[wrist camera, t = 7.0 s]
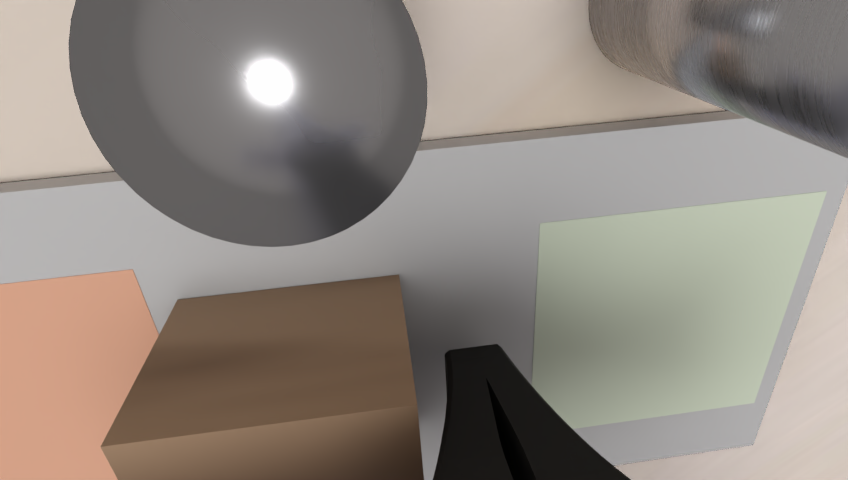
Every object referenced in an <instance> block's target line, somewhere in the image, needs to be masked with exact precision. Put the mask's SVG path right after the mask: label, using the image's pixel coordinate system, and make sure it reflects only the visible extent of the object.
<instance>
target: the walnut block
mask: <svg viewBox="0 0 848 480" xmlns="http://www.w3.org/2000/svg"><path fill="white" fill-rule="evenodd" d="M101 449H102V451H103V453H104V455H105V457H106V458H107V460H108V462H109V464H110V466H111V468H112V470H113V471H114V473H115V475H116V477H117V479H118V480H424V474H423V463H422V452H421V441H420V429H419V418H418V407H417V399H416V392H415V385H414V378H413V371H412V364H411V357H410V349H409V342H408V335H407V328H406V321H405V314H404V307H403V300H402V292H401V285H400V278H399V275H391V276H382V277H373V278H364V279H355V280H347V281H338V282H329V283H320V284H311V285H303V286H294V287H285V288H276V289H267V290H258V291H250V292H241V293H232V294H223V295H214V296H205V297H197V298H188V299H179V300H177V302H176V303H175V305H174V307H173V309H172V311H171V313H170V315H169V317H168V319H167V321H166V323H165V324H164V326H163V328H162V330H161V332H160V334H159V336H158V338H157V340H156V342H155V344H154V345H153V347H152V349H151V351H150V353H149V355H148V357H147V359H146V361H145V363H144V365H143V366H142V368H141V370H140V372H139V374H138V376H137V378H136V380H135V382H134V384H133V386H132V387H131V389H130V391H129V393H128V395H127V397H126V399H125V401H124V403H123V405H122V407H121V408H120V410H119V412H118V414H117V416H116V418H115V420H114V422H113V424H112V426H111V427H110V429H109V431H108V433H107V435H106V437H105V439H104V441H103V443H102V445H101Z"/></svg>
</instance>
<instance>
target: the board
mask: <svg viewBox="0 0 848 480" xmlns="http://www.w3.org/2000/svg"><path fill="white" fill-rule="evenodd" d="M847 184H848V158H846V157H843V156H841V155H838V154H836V153H833V152H831V151H828V150H826V149H823V148H821V147H818V146H816V145H813V144H811V143H808V142H806V141H803V140H801V139H798V138H795V137H793V136H790V135H788V134H785V133H783V132H780V131H778V130H775V129H773V128H770V127H768V126H765V125H763V124H760V123H758V122H755V121H753V120H750V119H748V118H745V117H743V116H740V115H738V114H735V113H733V112H730V111H722V112H712V113H702V114H692V115H682V116H672V117H662V118H652V119H642V120H632V121H622V122H611V123H601V124H591V125H581V126H571V127H561V128H551V129H541V130H531V131H521V132H511V133H501V134H491V135H481V136H471V137H460V138H450V139H440V140H430V141H420V143H419V146H418V149H417V151H416V154H415V156H414V158H413V161H412V163H411V165H410V167H409V169H408V170H407V172H406V174H405V175H404V177H403V179H402V181H401V182H400V183H399V184H398V186H397V187H396V188H395V190H394V191H393V192H392V194H391V195H390V196H389V197H388V198H387V199H386V200H385V201H384V202H383V203H382V204H381V205H380V206H379V207H378V208H377V209H376V210H374V211H373V212H372V213H371V214H369V215H368V216H367V217H365V218H364V219H363V220H361V221H360V222H358V223H356V224H355V225H353V226H351V227H350V228H348V229H346V230H344V231H342V232H339V233H337V234H335V235H332V236H330V237H327V238H324V239H321V240H317V241H314V242H311V243H305V244H299V245H294V246H281V247H261V246H248V245H242V244H236V243H231V242H227V241H223V240H220V239H216V238H212V237H209V236H207V235H204V234H202V233H199V232H197V231H194V230H191V229H190V228H188V227H186V226H184V225H182V224H180V223H178V222H176V221H174V220H172V219H171V218H169V217H167V216H166V215H164V214H163V213H161V212H160V211H158V210H157V209H155V208H154V207H152V206H151V205H150V204H149V203H148V202H146V201H145V200H144V199H143V198H141V197H140V196H139V195H138V194H137V193H135V192H134V191H133V190H132V189H131V188H130V187H129V186H128V185H127V183H126V182H125V181H124V180H123V179H122V178H121V177H120V176H119V175H118V174H117V173H116V172H108V173H98V174H88V175H78V176H68V177H58V178H48V179H38V180H28V181H18V182H8V183H0V480H118V479H117V477H116V475H115V473H114V471H113V470H112V468H111V466H110V464H109V462H108V460H107V458H106V457H105V455H104V453H103V451H102V449H101V445H102V443H103V441H104V439H105V437H106V435H107V433H108V431H109V429H110V427H111V426H112V424H113V422H114V420H115V418H116V416H117V414H118V412H119V410H120V408H121V407H122V405H123V403H124V401H125V399H126V397H127V395H128V393H129V391H130V389H131V387H132V386H133V384H134V382H135V380H136V378H137V376H138V374H139V372H140V370H141V368H142V366H143V365H144V363H145V361H146V359H147V357H148V355H149V353H150V351H151V349H152V347H153V345H154V344H155V342H156V340H157V338H158V336H159V334H160V332H161V330H162V328H163V326H164V324H165V323H166V321H167V319H168V317H169V315H170V313H171V311H172V309H173V307H174V305H175V303H176V302H177V300H179V299H188V298H197V297H205V296H214V295H223V294H232V293H241V292H250V291H258V290H267V289H276V288H285V287H294V286H303V285H311V284H320V283H329V282H338V281H347V280H355V279H364V278H373V277H382V276H391V275H399V278H400V285H401V292H402V300H403V307H404V314H405V321H406V328H407V335H408V342H409V349H410V357H411V364H412V371H413V378H414V385H415V392H416V399H417V407H418V418H419V429H420V441H421V452H422V463H423V474H424V480H433V477H434V473H435V469H436V464H437V460H438V455H439V450H440V445H441V439H442V434H443V428H444V422H445V413H446V403H447V392H446V373H445V353H446V352H447V351H449V350H453V349H461V348H469V347H477V346H484V345H492V344H498V345H499V346H501V347H502V349H503V350H504V351H505V353H506V354H507V355H508V357H509V358H510V359H511V361H512V362H513V363H514V365H515V366H516V367H517V368H518V370H519V371H520V372H521V373H522V375H523V376H524V377H525V378H526V379H527V381H528V382H529V383H530V384H531V385H532V386H533V388H534V389H535V390H536V391H537V392H538V393H539V394H540V395H541V397H542V398H543V399H544V400H545V401H546V402H547V403H548V404H549V405H550V406H551V407H552V409H553V410H554V411H555V412H556V413H557V414H558V415H559V416H560V417H561V418H562V419H563V420H564V421H565V422H566V423H567V424H568V425H569V426H570V427H571V428H572V429H573V430H574V431H575V432H576V433H577V434H578V435H579V436H580V437H581V438H582V439H583V440H585V441H586V442H587V443H588V444H589V445H590V446H591V447H592V448H593V449H594V450H596V451H597V452H598V453H599V454H600V455H601V456H602V457H604V458H605V459H606V460H607V461H608V462H609V463H611V464H612V465H613V466H616V465H622V464H629V463H636V462H642V461H649V460H656V459H662V458H669V457H676V456H683V455H689V454H696V453H703V452H709V451H716V450H723V449H729V448H736V447H743V446H749V445H753V444H754V441H755V438H756V436H757V433H758V430H759V427H760V424H761V422H762V419H763V416H764V413H765V411H766V408H767V405H768V402H769V400H770V397H771V394H772V391H773V389H774V386H775V383H776V380H777V378H778V375H779V372H780V369H781V366H782V364H783V361H784V358H785V355H786V353H787V350H788V347H789V344H790V342H791V339H792V336H793V333H794V331H795V328H796V325H797V322H798V320H799V317H800V314H801V311H802V309H803V306H804V303H805V300H806V297H807V295H808V292H809V289H810V286H811V284H812V281H813V278H814V275H815V273H816V270H817V267H818V264H819V262H820V259H821V256H822V253H823V251H824V248H825V245H826V242H827V239H828V237H829V234H830V231H831V228H832V226H833V223H834V220H835V217H836V215H837V212H838V209H839V206H840V204H841V201H842V198H843V195H844V193H845V190H846V187H847Z"/></svg>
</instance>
